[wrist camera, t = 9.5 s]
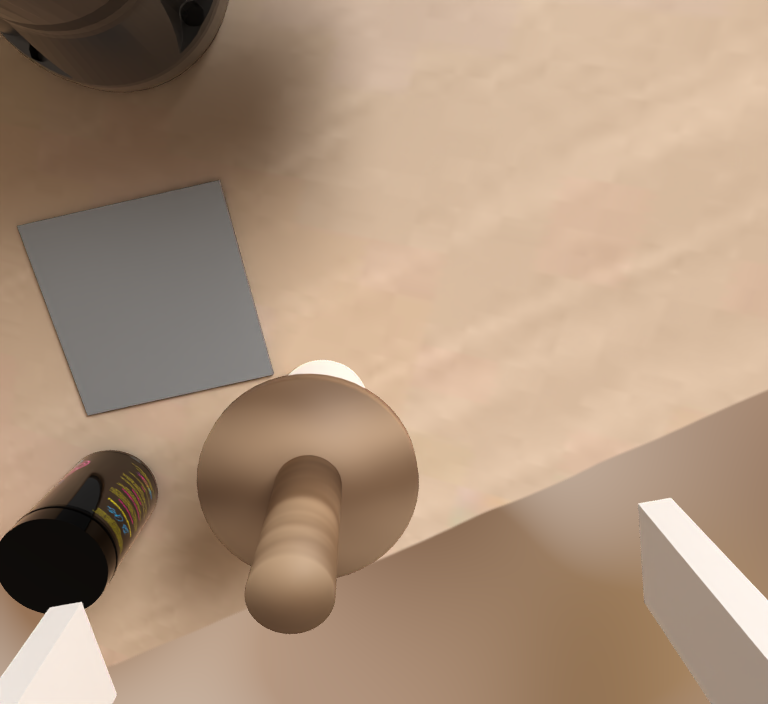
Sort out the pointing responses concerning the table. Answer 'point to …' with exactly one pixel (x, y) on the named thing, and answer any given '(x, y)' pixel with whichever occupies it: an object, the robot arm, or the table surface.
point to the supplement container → (78, 532)
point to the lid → (306, 491)
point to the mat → (149, 297)
